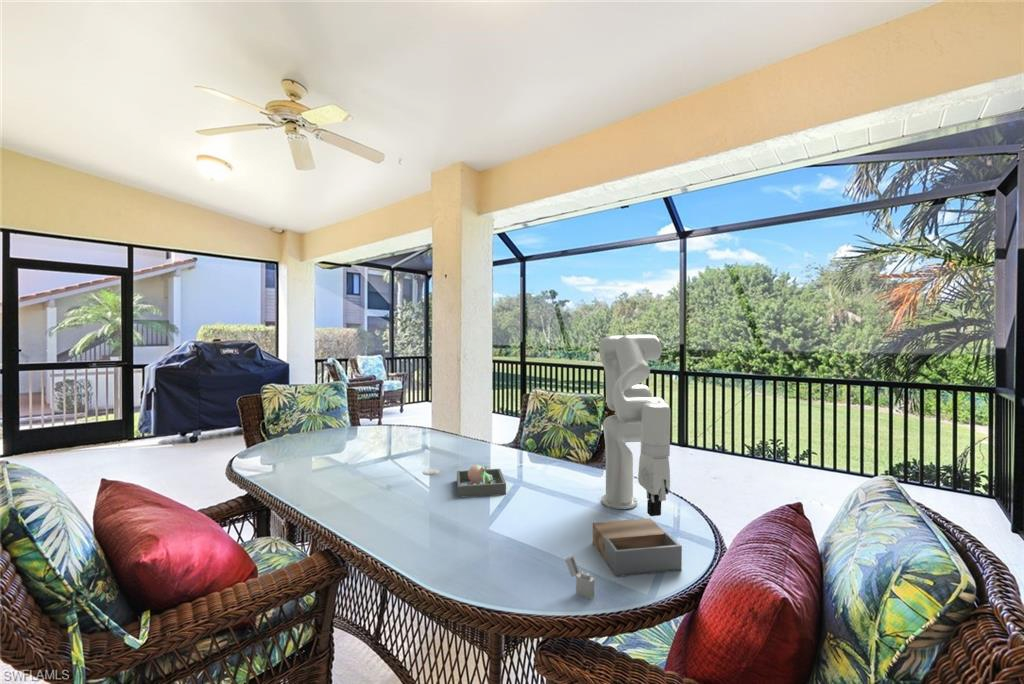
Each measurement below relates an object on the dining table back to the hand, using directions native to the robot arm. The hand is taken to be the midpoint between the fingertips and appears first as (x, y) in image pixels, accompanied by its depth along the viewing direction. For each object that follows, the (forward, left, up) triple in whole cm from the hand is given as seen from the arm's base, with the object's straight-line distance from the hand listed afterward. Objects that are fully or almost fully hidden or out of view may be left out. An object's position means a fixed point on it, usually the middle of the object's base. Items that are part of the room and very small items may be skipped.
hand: (654, 514), depth 123 cm
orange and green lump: (-62, -43, -13) cm, 77 cm away
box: (+3, -5, -12) cm, 13 cm away
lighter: (+12, -25, -13) cm, 30 cm away
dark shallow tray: (-62, -43, -12) cm, 76 cm away
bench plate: (-6, -5, -12) cm, 15 cm away
